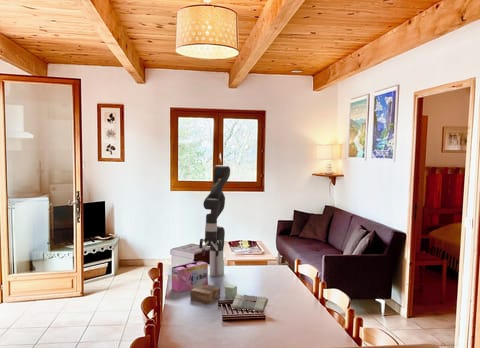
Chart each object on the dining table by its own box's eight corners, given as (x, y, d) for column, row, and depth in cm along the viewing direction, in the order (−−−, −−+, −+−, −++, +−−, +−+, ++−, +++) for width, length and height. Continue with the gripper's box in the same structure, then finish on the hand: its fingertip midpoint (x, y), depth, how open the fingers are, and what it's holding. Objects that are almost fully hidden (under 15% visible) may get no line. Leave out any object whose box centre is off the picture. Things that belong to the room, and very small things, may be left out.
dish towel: (263, 313, 192) (263, 307, 192) (230, 310, 195) (230, 304, 195) (268, 300, 210) (268, 294, 210) (237, 297, 214) (237, 292, 214)
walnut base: (202, 294, 218) (203, 283, 218) (220, 298, 212) (220, 287, 212) (190, 300, 208) (190, 290, 207) (208, 305, 202) (208, 294, 202)
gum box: (202, 280, 241) (202, 260, 241) (209, 283, 236) (210, 262, 235) (171, 289, 225) (171, 267, 224) (178, 292, 219) (178, 270, 219)
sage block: (229, 294, 217) (229, 284, 217) (236, 296, 215) (236, 285, 215) (224, 296, 213) (224, 286, 213) (232, 298, 211) (232, 288, 210)
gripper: (223, 230, 236) (222, 255, 236) (202, 228, 240) (201, 254, 239) (220, 231, 229) (219, 258, 229) (198, 230, 232) (197, 256, 232)
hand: (210, 255), depth 234 cm, fingers open, 8 cm apart
